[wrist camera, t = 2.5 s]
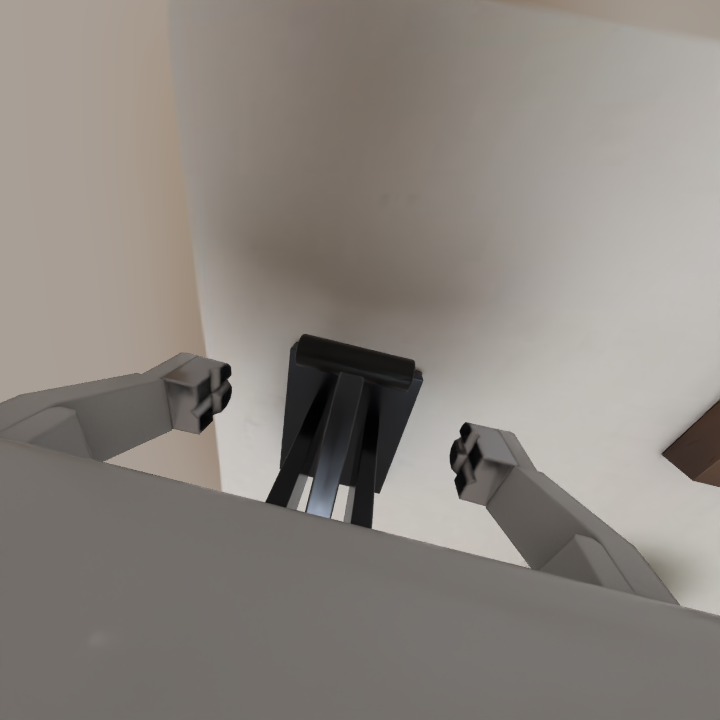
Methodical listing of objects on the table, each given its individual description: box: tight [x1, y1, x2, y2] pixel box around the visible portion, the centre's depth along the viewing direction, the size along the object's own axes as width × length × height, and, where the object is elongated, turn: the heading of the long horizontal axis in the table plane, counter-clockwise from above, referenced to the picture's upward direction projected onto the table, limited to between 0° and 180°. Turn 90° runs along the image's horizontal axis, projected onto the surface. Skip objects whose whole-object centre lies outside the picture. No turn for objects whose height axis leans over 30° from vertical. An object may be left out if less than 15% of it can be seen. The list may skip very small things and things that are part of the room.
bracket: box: [265, 342, 423, 529], centre depth 15 cm, size 12×9×13 cm
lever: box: [295, 334, 415, 519], centre depth 11 cm, size 12×5×2 cm, turn 168°
